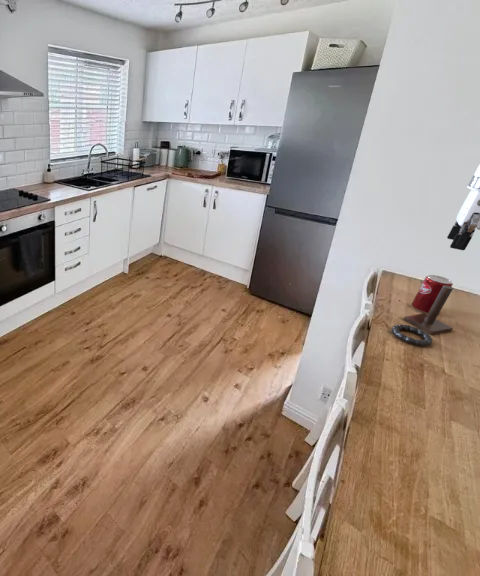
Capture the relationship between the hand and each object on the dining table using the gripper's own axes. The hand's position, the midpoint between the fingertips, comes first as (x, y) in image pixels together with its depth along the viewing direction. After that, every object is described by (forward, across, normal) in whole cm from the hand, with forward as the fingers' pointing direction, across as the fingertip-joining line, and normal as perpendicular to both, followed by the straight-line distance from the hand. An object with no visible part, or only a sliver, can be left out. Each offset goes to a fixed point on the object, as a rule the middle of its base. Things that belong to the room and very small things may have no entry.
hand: (455, 244), depth 107 cm
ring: (+27, -10, 0) cm, 29 cm away
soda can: (+29, +16, -4) cm, 33 cm away
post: (+28, +3, -4) cm, 29 cm away
